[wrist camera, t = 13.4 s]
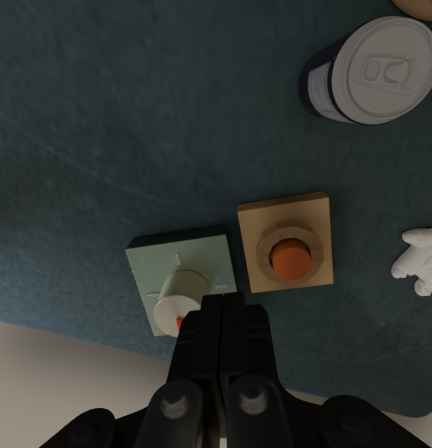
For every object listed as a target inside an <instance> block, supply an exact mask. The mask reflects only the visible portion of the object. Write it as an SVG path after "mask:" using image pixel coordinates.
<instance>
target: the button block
mask: <svg viewBox="0 0 432 448" xmlns="http://www.w3.org/2000/svg"><path fill="white" fill-rule="evenodd" d="M237 212H238V218H239V224H240V229H241V235H242V241H243V247H244V252H245V258H246V264H247V270H248V275H249V281H250V287H251V292H252V293H256V292H265V291H273V290H282V289H290V288H299V287H308V286H316V285H325V284H333V266H332V247H331V228H330V209H329V197H328V196H327V195H326V194H325V193H324V192H323V191H321V192H315V193H309V194H302V195H296V196H290V197H283V198H277V199H271V200H265V201H258V202H252V203H246V204H239V205H238V209H237ZM285 240H296V241H299V242H301V243H302V244H304V246H305V247H306V249H307V251H308V253H309V255H310V257H311V260H312V265H311V269H310V271H309V272H308V273H307V274H306V275H305V276H304V277H302V278H300V279H297V280H286V279H283V278H281V277H280V276H278V275H277V274H276V272H275V270H274V267H273V262H272V251H273V249H274V248H275V246H276V245H277V244H279V243H280V242H282V241H285Z"/></svg>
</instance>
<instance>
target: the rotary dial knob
mask: <svg viewBox="0 0 432 448" xmlns="http://www.w3.org/2000/svg"><path fill="white" fill-rule="evenodd" d="M203 295H210V288H209V285H208V283H207V282H206V280H205V279H204V278H203V277H202V276H201V275H199V274H197V273H195V272H192V271H178V272H175V273H173V274H171V275H170V276H169V277H168V278H167V279H166V281H165V283H164V285H163V288H162V290H161V293H160V295H159V298H158V300H157V303H156V305H155V307H154V311H153V317H154V320H155V323H156V325H157V326H158V327H159V328H160V329H161V330H162V331H163V332H164V333H166V334H168V335H170V336H173V337H178V335H179V329H180V325H181V321H182V320H183V319H184V317H185V316H186V315H187V313H188V312H189V311H192V310H200V307H201V302H202V296H203Z"/></svg>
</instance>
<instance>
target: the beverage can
mask: <svg viewBox="0 0 432 448" xmlns="http://www.w3.org/2000/svg"><path fill="white" fill-rule="evenodd" d="M431 87H432V32H431V30H430V29H429V28H428V27H427V26H425V25H424V24H423V23H421V22H419V21H417V20H414V19H410V18H406V17H403V16H397V15H386V16H381V17H377V18H374V19H372V20H369V21H367V22H365V23H364V24H362V25H360V26H359V27H357V28H356V29H354V30H352V31H351V32H349V33H348V34H346V35H345V36H343V37H341V38H340V39H338V40H337V41H335V42H334V43H332V44H330V45H329V46H327V47H326V48H324V49H323V50H321V51H319V52H318V53H316V54H315V55H314V56H313V57H312V58H311V59H310V60H309V61H308V62H307V63H306V65H305V66H304V68H303V70H302V72H301V75H300V78H299V84H298V91H299V97H300V100H301V102H302V104H303V106H304V107H305V108H306V109H307V110H308V111H309V112H310V113H311V114H313V115H315V116H317V117H321V118H327V119H332V120H338V121H344V122H349V123H355V124H361V125H370V126H371V125H380V124H384V123H388V122H390V121H393V120H395V119H397V118H398V117H400V116H402V115H403V114H405V113H407V112H408V111H410V110H411V109H413V108H414V107H415V106H417V105H418V104H419V103H420V102H421V101H422V100H423V99H424V97H425V96H426V95H427V94H428V92H429V91H430V89H431Z"/></svg>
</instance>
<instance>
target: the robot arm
mask: <svg viewBox="0 0 432 448" xmlns="http://www.w3.org/2000/svg"><path fill="white" fill-rule="evenodd" d="M220 438H227V448H431V447H430V446H428V445H427V444H426V443H424V442H423V441H421V440H420V439H419V438H417V437H416V436H414V435H413V434H412V433H410V432H409V431H407V430H406V429H405V428H403V427H402V426H400V425H399V424H397V423H396V422H395V421H393V420H392V419H391V418H389V417H388V416H386V415H385V414H384V413H382V412H381V411H379V410H378V409H377V408H375V407H374V406H372V405H371V404H369V403H368V402H366V401H364V400H362V399H360V398H357V397H354V396H349V395H338V396H334V397H331V398H329V399H328V400H327V401H325V402H324V403H323V405H317V404H314V403H310V402H306V401H303V400H300V399H298V398H296V397H294V396H293V395H291V394H290V393H288V392H287V391H286V390H285V388H284V387H283V386H282V384H281V383H280V381H279V378H278V374H277V368H276V362H275V355H274V349H273V343H272V337H271V330H270V324H269V318H268V313H267V312H266V310H265V309H264V308H263V307H262V305H261V304H255V305H246V299H245V293H244V291H240V292H230V293H224V295H223V293H220V294H210V295H203V296H202V302H201V307H200V310H192V311H189V312H188V313H187V315H186V316H185V317H184V319H183V320H182V321H181V325H180V329H179V335H178V337H177V341H176V345H175V349H174V353H173V357H172V361H171V365H170V369H169V373H168V377H167V381H166V384H164V385H163V386H161V387H160V388H159V389H158V390H157V391H156V392H155V393H154V395H153V397H152V398H151V401H150V402H149V405H148V406H147V407H146V408H144V409H142V410H139V411H137V412H134V413H132V414H129V415H126V416H124V417H121V418H118V419H115V417H114V415H113V414H112V413H111V412H110V411H109V410H107V409H104V408H95V409H91V410H88V411H86V412H84V413H82V414H80V415H79V416H77V417H76V418H75V419H73V420H72V421H71V422H70V423H68V424H67V425H66V426H65V427H63V428H62V429H61V430H60V431H59V432H58V433H56V434H55V435H54V436H53V437H51V438H50V439H49V440H48V441H47V442H45V443H44V444H43V445H42V446H40V447H39V448H219V446H220Z"/></svg>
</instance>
